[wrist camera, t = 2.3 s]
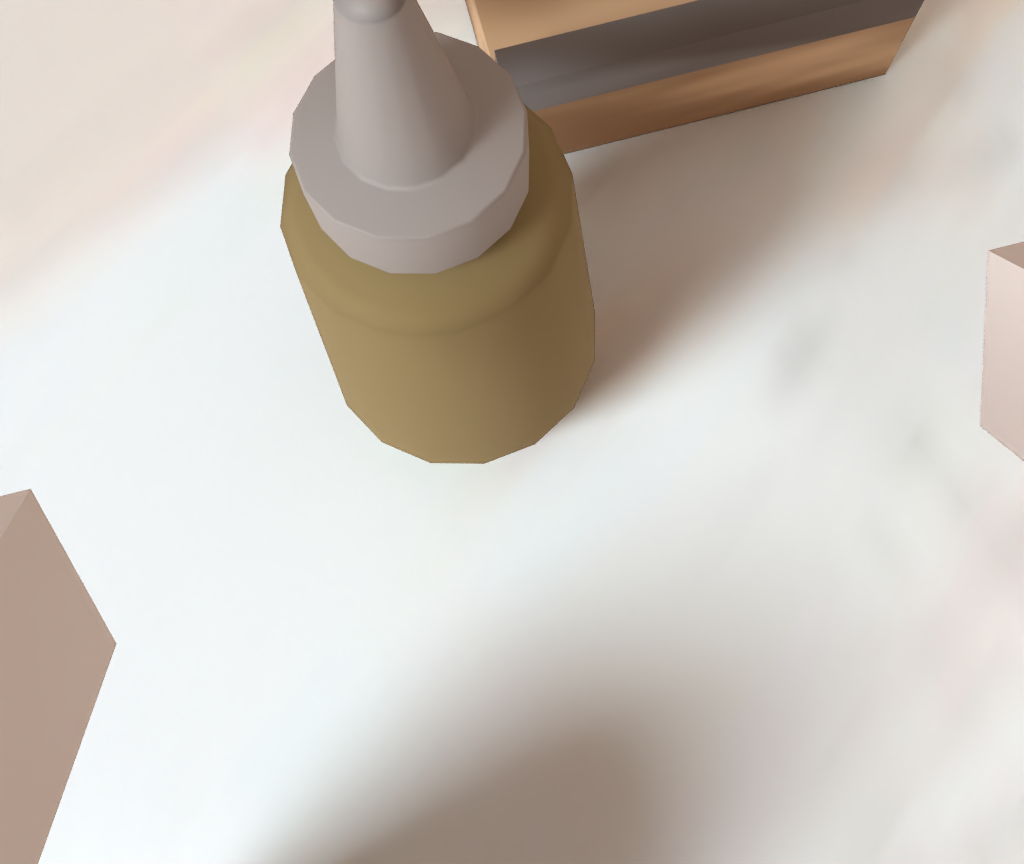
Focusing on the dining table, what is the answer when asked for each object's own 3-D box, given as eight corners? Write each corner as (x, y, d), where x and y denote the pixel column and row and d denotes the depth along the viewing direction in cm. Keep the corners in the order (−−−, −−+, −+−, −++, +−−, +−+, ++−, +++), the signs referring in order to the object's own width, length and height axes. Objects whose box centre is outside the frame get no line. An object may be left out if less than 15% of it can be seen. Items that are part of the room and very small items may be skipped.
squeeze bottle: (432, 538, 30) (264, 332, 13) (313, 342, 32) (28, -61, 15) (639, 408, 31) (741, 51, 14) (510, 225, 33) (458, -286, 16)
